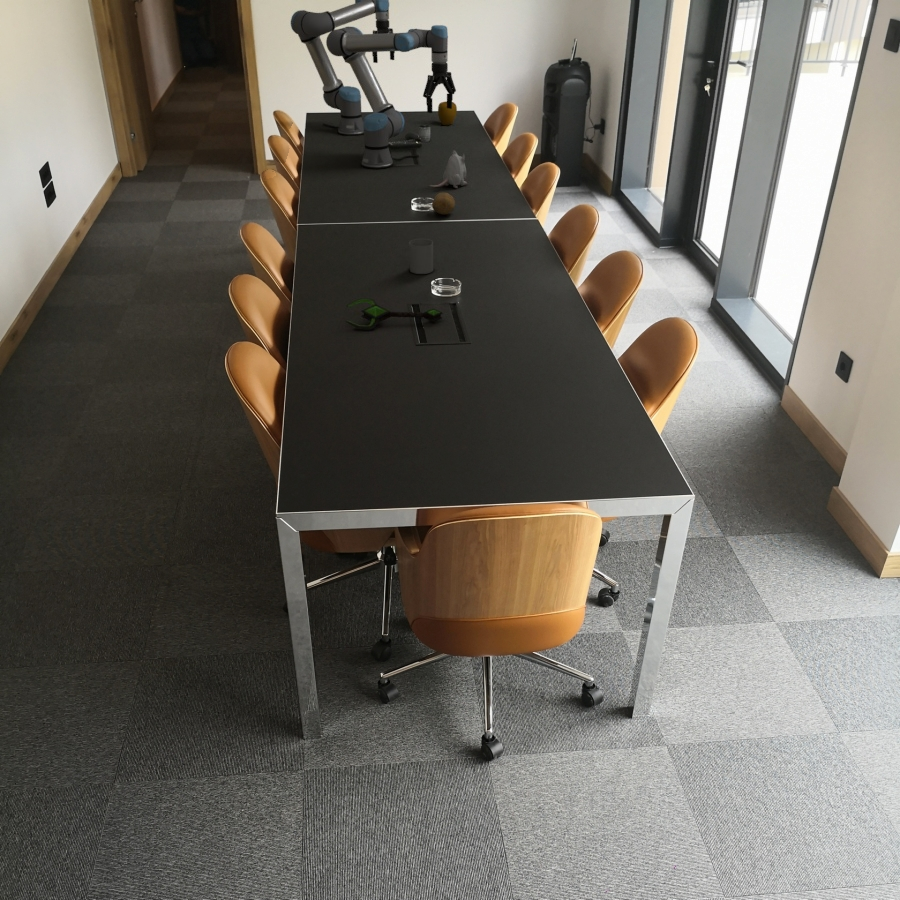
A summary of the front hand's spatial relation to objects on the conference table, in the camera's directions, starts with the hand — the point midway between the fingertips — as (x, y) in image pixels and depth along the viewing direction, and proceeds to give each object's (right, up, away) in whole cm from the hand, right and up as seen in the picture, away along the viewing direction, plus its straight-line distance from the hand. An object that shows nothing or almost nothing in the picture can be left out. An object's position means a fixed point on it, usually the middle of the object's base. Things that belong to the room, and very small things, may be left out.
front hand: (439, 110), depth 415 cm
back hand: (-33, +59, +79) cm, 104 cm away
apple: (+3, +26, +89) cm, 92 cm away
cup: (-5, -99, -106) cm, 145 cm away
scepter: (-12, -123, -144) cm, 190 cm away
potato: (+2, -64, -52) cm, 82 cm away
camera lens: (-9, +6, +57) cm, 58 cm away
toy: (+4, -44, -20) cm, 48 cm away
